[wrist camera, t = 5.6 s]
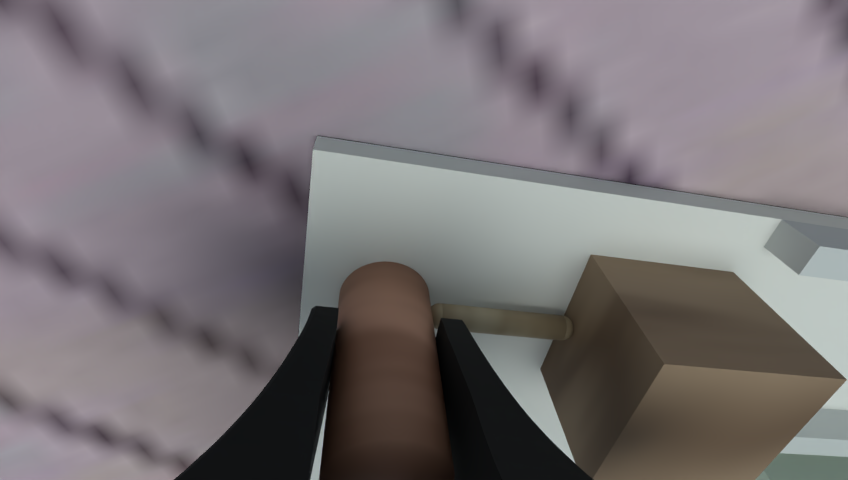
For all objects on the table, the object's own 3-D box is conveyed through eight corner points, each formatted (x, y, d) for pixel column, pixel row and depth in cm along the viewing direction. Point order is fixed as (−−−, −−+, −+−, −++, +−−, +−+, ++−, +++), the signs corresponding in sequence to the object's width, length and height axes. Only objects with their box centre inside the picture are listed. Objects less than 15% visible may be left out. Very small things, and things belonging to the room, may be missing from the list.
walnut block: (664, 378, 18) (775, 549, 13) (331, 352, 16) (310, 542, 11) (733, 272, 16) (903, 432, 11) (348, 224, 14) (329, 395, 8)
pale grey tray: (779, 508, 26) (815, 558, 24) (287, 492, 22) (278, 552, 20) (1045, 247, 18) (1136, 290, 15) (317, 135, 13) (305, 174, 11)
